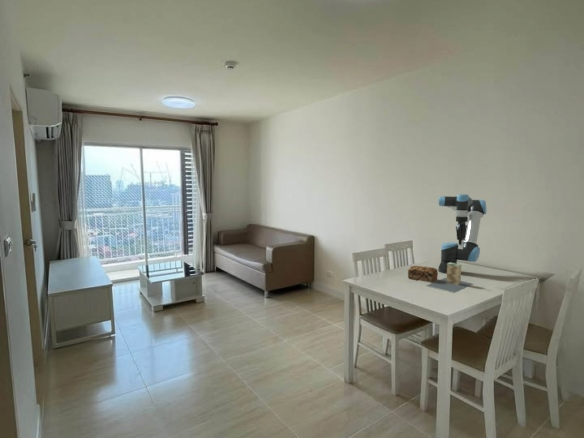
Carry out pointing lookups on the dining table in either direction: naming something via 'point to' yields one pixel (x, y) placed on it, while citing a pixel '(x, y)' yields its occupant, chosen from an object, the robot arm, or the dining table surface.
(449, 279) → the slab
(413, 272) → the bread
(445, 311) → the dining table surface
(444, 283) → the mat
